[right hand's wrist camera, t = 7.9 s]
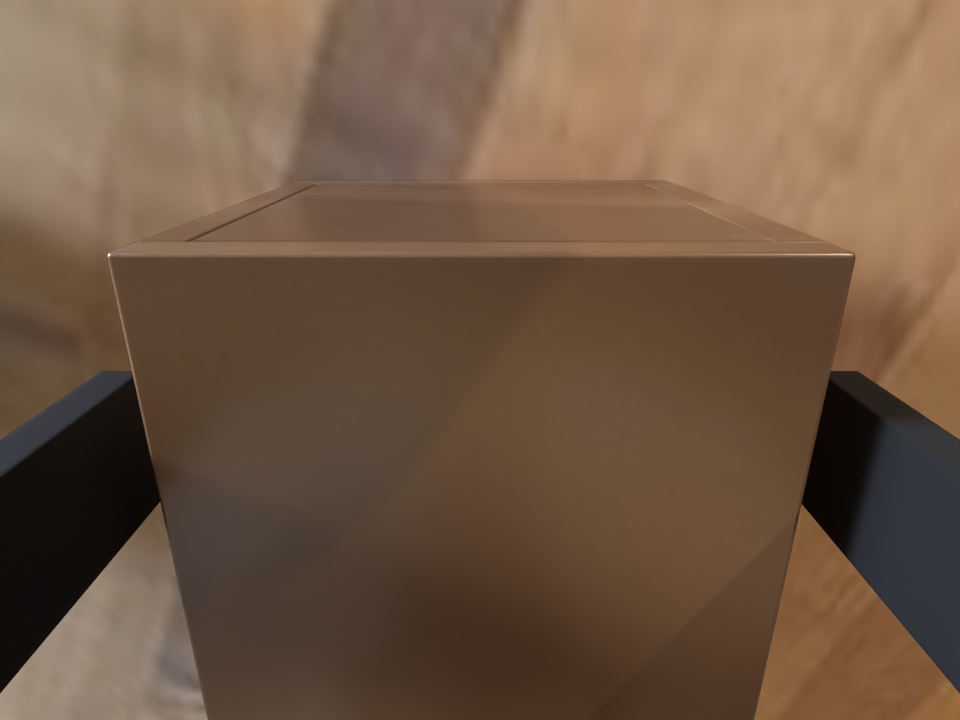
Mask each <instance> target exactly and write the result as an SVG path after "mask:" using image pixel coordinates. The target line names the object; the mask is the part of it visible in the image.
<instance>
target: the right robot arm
mask: <svg viewBox="0 0 960 720" xmlns="http://www.w3.org/2000/svg"><path fill="white" fill-rule="evenodd" d="M159 502H160V497H159V493H158V488H157V483H156V479H155V474H154V470H153V465H152V461H151V456H150V451H149V447H148V442H147V438H146V433H145V428H144V424H143V419H142V415H141V410H140V406H139V401H138V396H137V392H136V387H135V383H134V378H133V374H132V371H102V372H101V373H99V374H98V375H96V376H95V377H93V378H92V379H90V380H89V381H87V382H86V383H84V384H83V385H81V386H80V387H78V388H77V389H75V390H74V391H72V392H71V393H69V394H68V395H66V396H65V397H63V398H62V399H60V400H59V401H57V402H56V403H54V404H53V405H51V406H50V407H48V408H47V409H45V410H44V411H43V412H41V413H40V414H38V415H37V416H35V417H34V418H32V419H31V420H29V421H28V422H26V423H25V424H23V425H22V426H20V427H19V428H17V429H16V430H14V431H13V432H11V433H10V434H8V435H7V436H5V437H4V438H2V439H1V440H0V693H1V692H2V691H3V689H4V688H5V687H6V686H7V685H8V683H9V682H10V681H11V680H12V679H13V677H14V676H15V675H16V674H17V673H18V671H19V670H20V669H21V668H22V667H23V665H24V664H25V663H26V662H27V661H28V659H29V658H30V657H31V656H32V655H33V653H34V652H35V651H36V650H37V649H38V647H39V646H40V645H41V644H42V643H43V641H44V640H45V639H46V638H47V637H48V635H49V634H50V633H51V632H52V631H53V629H54V628H55V627H56V626H57V625H58V623H59V622H60V621H61V620H62V619H63V617H64V616H65V615H66V614H67V613H68V611H69V610H70V609H71V608H72V607H73V605H74V604H75V603H76V602H77V601H78V599H79V598H80V597H81V596H82V595H83V593H84V592H85V591H86V590H87V589H88V587H89V586H90V585H91V584H92V583H93V581H94V580H95V579H96V578H97V577H98V575H99V574H100V573H101V572H102V571H103V569H104V568H105V567H106V566H107V565H108V563H109V562H110V561H111V560H112V559H113V557H114V556H115V555H116V554H117V553H118V551H119V550H120V549H121V548H122V547H123V545H124V544H125V543H126V542H127V541H128V539H129V538H130V537H131V536H132V535H133V533H134V532H135V531H136V530H137V529H138V527H139V526H140V525H141V524H142V523H143V521H144V520H145V519H146V518H147V517H148V515H149V514H150V513H151V512H152V511H153V509H154V508H155V507H156V506H157V505H158V503H159ZM802 505H803V506H804V507H805V508H806V509H807V511H808V512H809V513H810V514H811V515H812V517H813V518H814V519H815V520H816V521H817V523H818V524H819V525H820V526H821V527H822V529H823V530H824V531H825V532H826V533H827V535H828V536H829V537H830V538H831V539H832V541H833V542H834V543H835V544H836V545H837V547H838V548H839V549H840V550H841V551H842V553H843V554H844V555H845V556H846V557H847V559H848V560H849V561H850V562H851V563H852V565H853V566H854V567H855V568H856V569H857V571H858V572H859V573H860V574H861V575H862V577H863V578H864V579H865V580H866V581H867V583H868V584H869V585H870V586H871V587H872V589H873V590H874V591H875V592H876V593H877V595H878V596H879V597H880V598H881V599H882V601H883V602H884V603H885V604H886V605H887V607H888V608H889V609H890V610H891V611H892V613H893V614H894V615H895V616H896V617H897V619H898V620H899V621H900V622H901V623H902V625H903V626H904V627H905V628H906V629H907V631H908V632H909V633H910V634H911V635H912V637H913V638H914V639H915V640H916V641H917V643H918V644H919V645H920V646H921V647H922V649H923V650H924V651H925V652H926V653H927V655H928V656H929V657H930V658H931V659H932V661H933V662H934V663H935V664H936V665H937V667H938V668H939V669H940V670H941V671H942V673H943V674H944V675H945V676H946V677H947V679H948V680H949V681H950V682H951V683H952V685H953V686H954V687H955V688H956V689H957V691H958V692H959V693H960V440H959V439H958V438H956V437H955V436H953V435H952V434H950V433H949V432H947V431H946V430H944V429H943V428H941V427H940V426H938V425H937V424H935V423H934V422H932V421H931V420H929V419H928V418H926V417H925V416H923V415H922V414H920V413H919V412H917V411H916V410H915V409H913V408H912V407H910V406H909V405H907V404H906V403H904V402H903V401H901V400H900V399H898V398H897V397H895V396H894V395H892V394H891V393H889V392H888V391H886V390H885V389H883V388H882V387H880V386H879V385H877V384H876V383H874V382H873V381H871V380H870V379H868V378H867V377H865V376H864V375H862V374H861V373H859V372H858V371H830V376H829V381H828V385H827V390H826V394H825V399H824V403H823V408H822V412H821V417H820V421H819V426H818V431H817V435H816V440H815V444H814V449H813V453H812V458H811V462H810V467H809V471H808V476H807V481H806V485H805V490H804V494H803V499H802Z"/></svg>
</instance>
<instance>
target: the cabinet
mask: <svg viewBox="0 0 960 720" xmlns="http://www.w3.org/2000/svg"><path fill="white" fill-rule="evenodd" d="M107 259H108V264H109V268H110V273H111V277H112V282H113V287H114V291H115V296H116V300H117V305H118V309H119V314H120V319H121V323H122V328H123V332H124V337H125V341H126V346H127V351H128V355H129V360H130V364H131V369H132V374H133V378H134V383H135V387H136V392H137V396H138V401H139V406H140V410H141V415H142V419H143V424H144V428H145V433H146V438H147V442H148V447H149V451H150V456H151V461H152V465H153V470H154V474H155V479H156V483H157V488H158V493H159V497H160V502H161V506H162V511H163V515H164V520H165V525H166V529H167V534H168V538H169V543H170V548H171V552H172V557H173V561H174V566H175V570H176V575H177V580H178V584H179V589H180V593H181V598H182V602H183V607H184V612H185V616H186V621H187V625H188V630H189V635H190V639H191V644H192V648H193V653H194V657H195V662H196V667H197V671H198V676H199V680H200V685H201V689H202V694H203V699H204V703H205V708H206V712H207V717H208V720H754V717H755V712H756V708H757V703H758V699H759V694H760V690H761V685H762V681H763V676H764V672H765V667H766V662H767V658H768V653H769V649H770V644H771V640H772V635H773V631H774V626H775V622H776V617H777V612H778V608H779V603H780V599H781V594H782V590H783V585H784V581H785V576H786V572H787V567H788V562H789V558H790V553H791V549H792V544H793V540H794V535H795V531H796V526H797V521H798V517H799V512H800V508H801V503H802V499H803V494H804V490H805V485H806V481H807V476H808V471H809V467H810V462H811V458H812V453H813V449H814V444H815V440H816V435H817V431H818V426H819V421H820V417H821V412H822V408H823V403H824V399H825V394H826V390H827V385H828V381H829V376H830V371H831V367H832V362H833V358H834V353H835V349H836V344H837V340H838V335H839V331H840V326H841V321H842V317H843V312H844V308H845V303H846V299H847V294H848V290H849V285H850V280H851V276H852V271H853V267H854V262H855V254H854V253H852V252H850V251H848V250H845V249H842V248H840V247H837V246H835V245H832V244H829V243H827V242H826V241H823V240H821V239H818V238H816V237H813V236H810V235H808V234H805V233H802V232H800V231H797V230H795V229H792V228H789V227H787V226H784V225H781V224H779V223H776V222H773V221H771V220H768V219H766V218H763V217H760V216H758V215H755V214H752V213H750V212H747V211H745V210H742V209H739V208H737V207H734V206H731V205H729V204H726V203H723V202H721V201H718V200H716V199H713V198H710V197H708V196H705V195H702V194H700V193H697V192H695V191H692V190H689V189H687V188H684V187H681V186H679V185H676V184H672V183H670V182H667V181H316V180H299V181H296V182H293V183H291V184H288V185H286V186H283V187H280V188H278V189H275V190H272V191H270V192H267V193H264V194H262V195H259V196H257V197H254V198H251V199H249V200H246V201H243V202H241V203H238V204H236V205H233V206H230V207H228V208H225V209H222V210H220V211H217V212H214V213H212V214H209V215H207V216H204V217H201V218H199V219H196V220H193V221H191V222H188V223H185V224H183V225H180V226H178V227H175V228H172V229H170V230H167V231H164V232H162V233H159V234H156V235H154V236H151V237H149V238H146V239H143V240H141V241H139V242H135V243H132V244H129V245H127V246H124V247H122V248H119V249H116V250H114V251H111V252H109V253H108V256H107Z"/></svg>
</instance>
